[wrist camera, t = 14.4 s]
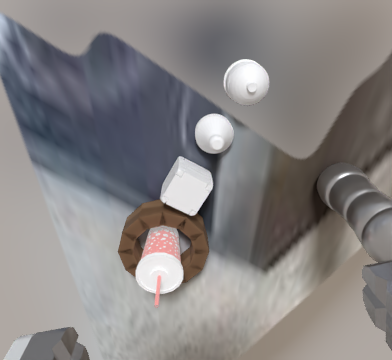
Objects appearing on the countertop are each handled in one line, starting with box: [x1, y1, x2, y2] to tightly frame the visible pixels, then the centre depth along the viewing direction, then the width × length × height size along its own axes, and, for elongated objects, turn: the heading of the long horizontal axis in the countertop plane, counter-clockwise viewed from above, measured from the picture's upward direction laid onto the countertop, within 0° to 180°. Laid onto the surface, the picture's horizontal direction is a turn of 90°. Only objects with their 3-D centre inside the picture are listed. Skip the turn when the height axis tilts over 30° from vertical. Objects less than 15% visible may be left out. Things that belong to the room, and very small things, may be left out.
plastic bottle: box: [317, 163, 392, 263], centre depth 36 cm, size 6×7×20 cm
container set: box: [160, 59, 269, 216], centre depth 40 cm, size 20×5×6 cm, turn 150°
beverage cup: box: [136, 226, 183, 308], centre depth 42 cm, size 6×6×14 cm
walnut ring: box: [118, 200, 209, 283], centre depth 46 cm, size 12×12×4 cm
